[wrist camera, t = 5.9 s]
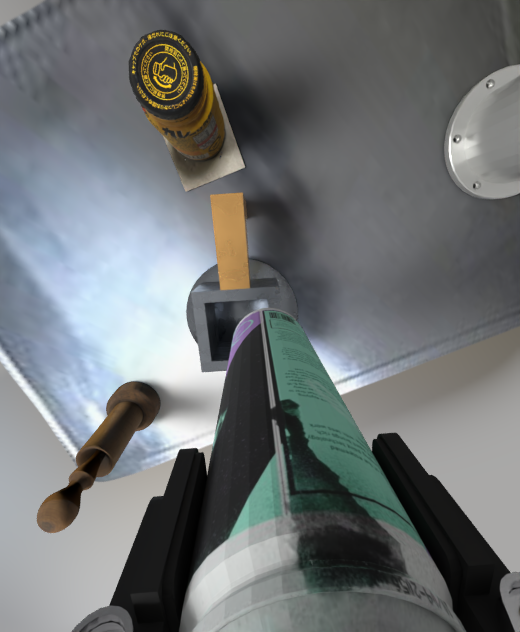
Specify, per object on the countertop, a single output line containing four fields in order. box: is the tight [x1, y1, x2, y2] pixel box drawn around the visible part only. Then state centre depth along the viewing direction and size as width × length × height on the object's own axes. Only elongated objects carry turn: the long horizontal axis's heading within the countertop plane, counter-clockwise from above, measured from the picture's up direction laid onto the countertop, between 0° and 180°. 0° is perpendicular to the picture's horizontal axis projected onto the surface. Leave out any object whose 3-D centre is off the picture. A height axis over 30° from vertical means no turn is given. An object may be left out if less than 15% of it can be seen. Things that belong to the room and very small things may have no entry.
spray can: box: [179, 308, 466, 632], centre depth 12 cm, size 6×6×20 cm
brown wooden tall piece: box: [37, 382, 160, 533], centre depth 32 cm, size 7×6×18 cm
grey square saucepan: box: [186, 193, 298, 372], centre depth 33 cm, size 14×20×7 cm
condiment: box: [129, 30, 245, 191], centre depth 26 cm, size 7×8×12 cm
